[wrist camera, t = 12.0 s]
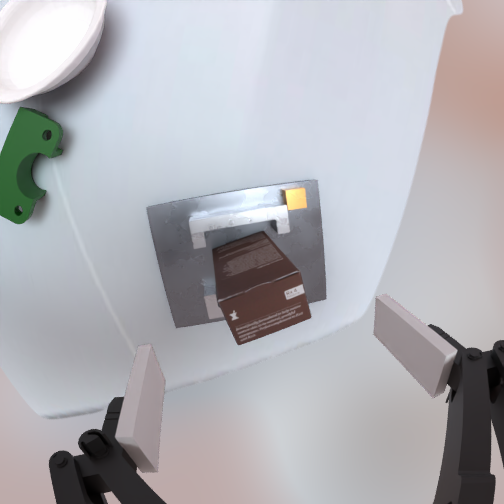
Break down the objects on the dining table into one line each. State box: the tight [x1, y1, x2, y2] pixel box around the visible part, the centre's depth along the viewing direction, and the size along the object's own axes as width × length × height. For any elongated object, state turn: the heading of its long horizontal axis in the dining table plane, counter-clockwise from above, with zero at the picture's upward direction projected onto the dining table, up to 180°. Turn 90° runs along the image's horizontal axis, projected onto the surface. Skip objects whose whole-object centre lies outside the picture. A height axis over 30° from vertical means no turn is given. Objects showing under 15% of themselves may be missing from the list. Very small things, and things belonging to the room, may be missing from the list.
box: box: [212, 231, 311, 345], centre depth 26 cm, size 6×4×12 cm
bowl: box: [0, 0, 107, 104], centre depth 19 cm, size 16×16×8 cm
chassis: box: [147, 180, 326, 328], centre depth 31 cm, size 18×14×4 cm
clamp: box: [0, 107, 63, 224], centre depth 23 cm, size 12×6×9 cm, turn 143°
